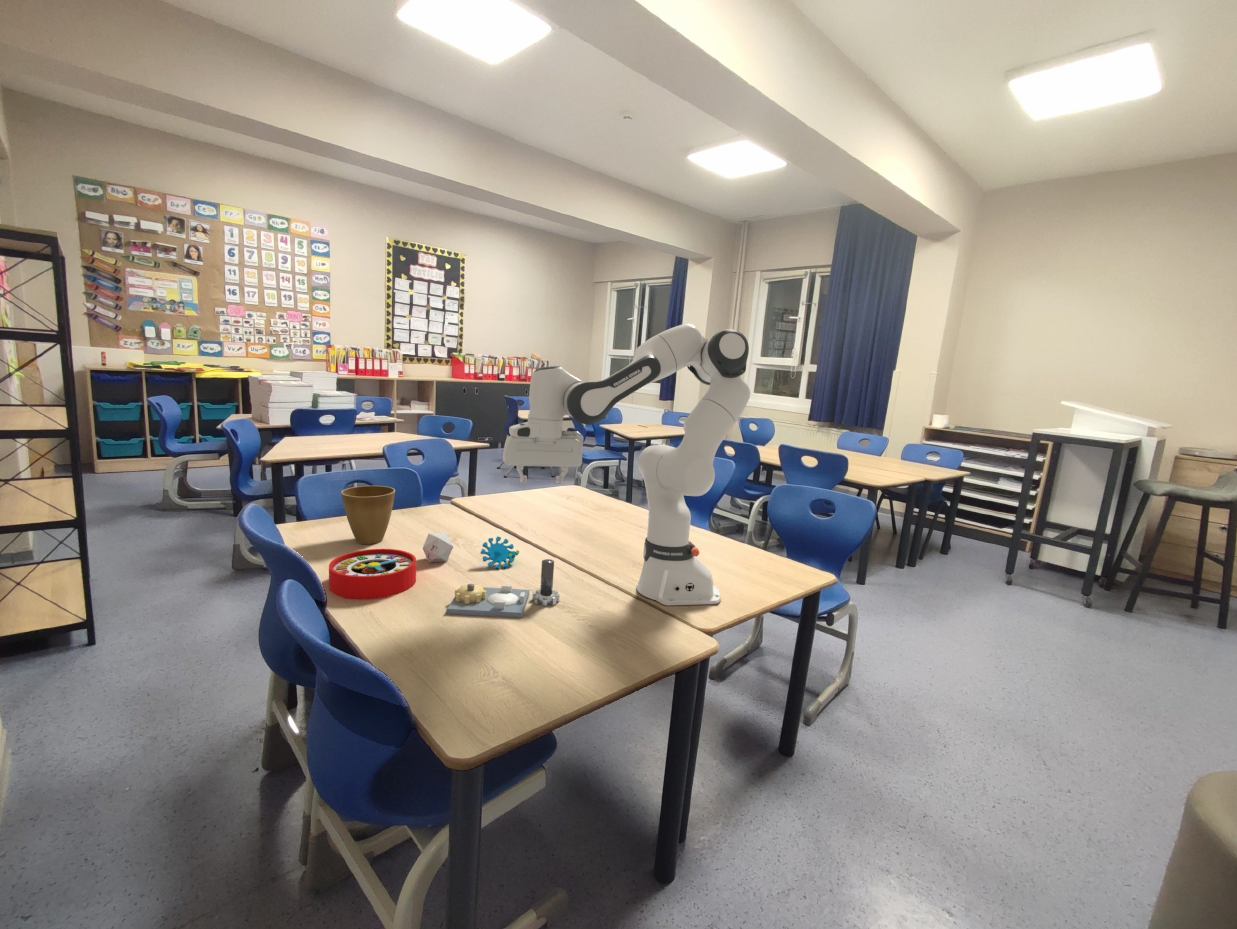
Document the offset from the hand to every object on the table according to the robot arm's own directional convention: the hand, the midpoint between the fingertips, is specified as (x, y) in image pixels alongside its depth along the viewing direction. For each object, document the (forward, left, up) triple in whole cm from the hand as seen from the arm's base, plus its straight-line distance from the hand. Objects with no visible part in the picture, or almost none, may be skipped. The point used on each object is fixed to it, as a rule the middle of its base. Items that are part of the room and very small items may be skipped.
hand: (541, 483), depth 137 cm
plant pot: (+55, -26, -28) cm, 67 cm away
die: (+30, -13, -28) cm, 43 cm away
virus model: (+12, -12, -28) cm, 32 cm away
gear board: (+9, +14, -27) cm, 32 cm away
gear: (-4, +10, -28) cm, 30 cm away
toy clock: (+40, +6, -28) cm, 49 cm away
